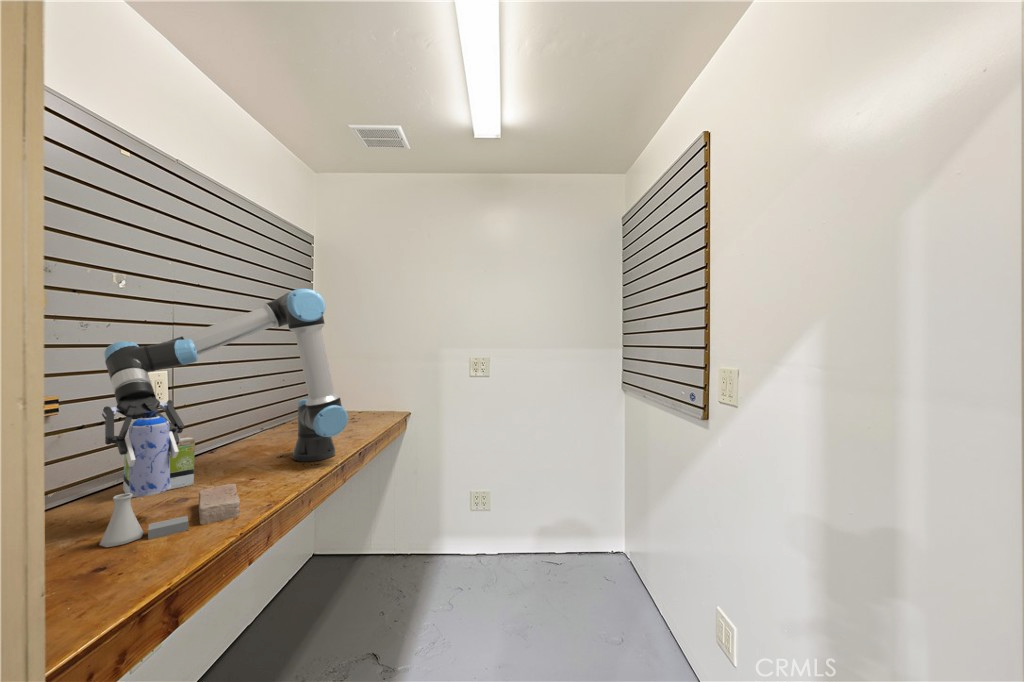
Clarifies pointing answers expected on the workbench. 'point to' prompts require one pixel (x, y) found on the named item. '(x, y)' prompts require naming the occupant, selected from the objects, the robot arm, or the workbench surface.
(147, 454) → the aerosol can
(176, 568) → the workbench surface
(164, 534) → the block
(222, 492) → the brick
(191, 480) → the tea box
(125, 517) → the flask
